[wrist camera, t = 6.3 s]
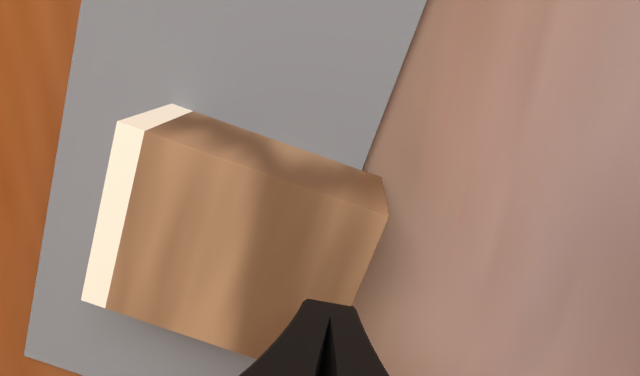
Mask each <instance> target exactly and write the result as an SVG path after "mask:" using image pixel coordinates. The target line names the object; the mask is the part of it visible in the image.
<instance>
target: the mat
mask: <svg viewBox="0 0 640 376" xmlns="http://www.w3.org/2000/svg"><path fill="white" fill-rule="evenodd" d="M426 1H427V0H82V2H81V8H80V14H79V20H78V26H77V32H76V39H75V45H74V51H73V57H72V63H71V69H70V75H69V81H68V88H67V94H66V100H65V106H64V112H63V118H62V124H61V131H60V137H59V143H58V149H57V155H56V161H55V167H54V174H53V180H52V186H51V192H50V198H49V204H48V210H47V217H46V223H45V229H44V235H43V241H42V247H41V253H40V260H39V266H38V272H37V278H36V284H35V290H34V296H33V303H32V309H31V315H30V321H29V327H28V333H27V339H26V345H25V352H24V356H26V357H29V358H32V359H35V360H38V361H41V362H44V363H47V364H50V365H53V366H56V367H59V368H62V369H65V370H68V371H71V372H74V373H77V374H80V375H83V376H239V375H240V374H241V373H242V372H244V371H245V370H246V369H247V368H248V367H249V366H251V365H252V364H253V363H254V362H255V361H256V360H257V359H254V358H251V357H248V356H245V355H242V354H239V353H236V352H234V351H231V350H228V349H225V348H222V347H219V346H216V345H213V344H210V343H207V342H204V341H201V340H198V339H195V338H192V337H189V336H186V335H183V334H180V333H177V332H174V331H171V330H168V329H165V328H162V327H159V326H156V325H153V324H150V323H147V322H144V321H141V320H138V319H135V318H132V317H129V316H126V315H124V314H121V313H118V312H115V311H112V310H109V309H106V308H103V307H100V306H97V305H94V304H91V303H88V302H85V301H82V300H81V297H82V292H83V287H84V282H85V277H86V272H87V267H88V262H89V257H90V252H91V247H92V242H93V237H94V232H95V228H96V223H97V218H98V213H99V208H100V203H101V198H102V193H103V188H104V183H105V178H106V173H107V168H108V163H109V158H110V153H111V148H112V143H113V139H114V134H115V129H116V124H117V121H119V120H122V119H125V118H129V117H132V116H135V115H138V114H141V113H144V112H147V111H150V110H153V109H156V108H159V107H163V106H166V105H169V104H175V105H177V106H180V107H183V108H186V109H189V110H192V111H194V112H197V113H200V114H203V115H206V116H209V117H211V118H214V119H217V120H220V121H223V122H226V123H229V124H231V125H234V126H237V127H240V128H243V129H246V130H248V131H251V132H254V133H257V134H260V135H263V136H265V137H268V138H271V139H274V140H277V141H280V142H283V143H285V144H288V145H291V146H294V147H297V148H300V149H302V150H305V151H308V152H311V153H314V154H317V155H320V156H322V157H325V158H328V159H331V160H334V161H337V162H339V163H342V164H345V165H348V166H351V167H354V168H356V169H359V170H362V168H363V165H364V163H365V160H366V157H367V155H368V152H369V150H370V147H371V144H372V142H373V139H374V137H375V134H376V131H377V129H378V126H379V124H380V121H381V118H382V116H383V113H384V111H385V108H386V105H387V103H388V100H389V98H390V95H391V92H392V90H393V87H394V85H395V82H396V79H397V77H398V74H399V72H400V69H401V66H402V64H403V61H404V59H405V56H406V53H407V51H408V48H409V46H410V43H411V40H412V38H413V35H414V33H415V30H416V27H417V25H418V22H419V20H420V17H421V14H422V12H423V9H424V7H425V4H426Z"/></svg>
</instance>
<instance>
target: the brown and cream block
mask: <svg viewBox="0 0 640 376" xmlns="http://www.w3.org/2000/svg"><path fill="white" fill-rule="evenodd" d="M388 218H389V213H388V208H387V203H386V198H385V192H384V187H383V182H382V177H379V176H376V175H374V174H371V173H368V172H365V171H362V170H359V169H356V168H354V167H351V166H348V165H345V164H342V163H339V162H337V161H334V160H331V159H328V158H325V157H322V156H320V155H317V154H314V153H311V152H308V151H305V150H302V149H300V148H297V147H294V146H291V145H288V144H285V143H283V142H280V141H277V140H274V139H271V138H268V137H265V136H263V135H260V134H257V133H254V132H251V131H248V130H246V129H243V128H240V127H237V126H234V125H231V124H229V123H226V122H223V121H220V120H217V119H214V118H211V117H209V116H206V115H203V114H200V113H197V112H194V111H192V110H189V109H186V108H183V107H180V106H177V105H175V104H169V105H166V106H163V107H159V108H156V109H153V110H150V111H147V112H144V113H141V114H138V115H135V116H132V117H129V118H125V119H122V120H119V121H117V124H116V129H115V134H114V139H113V143H112V148H111V153H110V158H109V163H108V168H107V173H106V178H105V183H104V188H103V193H102V198H101V203H100V208H99V213H98V218H97V223H96V228H95V232H94V237H93V242H92V247H91V252H90V257H89V262H88V267H87V272H86V277H85V282H84V287H83V292H82V297H81V300H82V301H85V302H88V303H91V304H94V305H97V306H100V307H103V308H106V309H109V310H112V311H115V312H118V313H121V314H124V315H126V316H129V317H132V318H135V319H138V320H141V321H144V322H147V323H150V324H153V325H156V326H159V327H162V328H165V329H168V330H171V331H174V332H177V333H180V334H183V335H186V336H189V337H192V338H195V339H198V340H201V341H204V342H207V343H210V344H213V345H216V346H219V347H222V348H225V349H228V350H231V351H234V352H236V353H239V354H242V355H245V356H248V357H251V358H254V359H258V358H259V357H260V356H261V355H262V354H263V353H264V352H265V351H266V350H267V349H268V348H269V347H270V346H271V345H272V344H273V343H274V342H275V340H276V339H277V338H278V337H279V336H280V335H281V333H282V332H283V331H284V330H285V328H286V327H287V326H288V325H289V323H290V322H291V321H292V319H293V318H294V316H295V315H296V313H297V312H298V310H299V308H300V306H301V304H302V302H303V301H304V300H306V299H313V300H318V301H324V302H330V303H336V304H341V305H347V306H352V304H353V301H354V299H355V297H356V294H357V292H358V289H359V287H360V285H361V282H362V280H363V277H364V275H365V273H366V270H367V268H368V266H369V263H370V261H371V258H372V256H373V254H374V251H375V249H376V246H377V244H378V242H379V239H380V237H381V235H382V232H383V230H384V227H385V225H386V223H387V220H388Z"/></svg>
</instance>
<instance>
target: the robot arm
mask: <svg viewBox="0 0 640 376" xmlns="http://www.w3.org/2000/svg"><path fill="white" fill-rule="evenodd" d="M239 376H389V375H388V373H387V371H386V370H385V368H384V366H383V365H382V363H381V361H380V359H379V358H378V356H377V354H376V352H375V350H374V348H373V347H372V345H371V343H370V341H369V339H368V337H367V334H366V332H365V330H364V328H363V326H362V323H361V321H360V318H359V316H358V313H357V311H356V309H355V308H354V307H353V306H347V305H341V304H336V303H330V302H324V301H318V300H313V299H306V300H304V301H303V302H302V304H301V306H300V308H299V310H298V312H297V313H296V315H295V316H294V318H293V319H292V321H291V322H290V323H289V325H288V326H287V327H286V328H285V330H284V331H283V332H282V333H281V335H280V336H279V337H278V338H277V339H276V340H275V342H274V343H273V344H272V345H271V346H270V347H269V348H268V349H267V350H266V351H265V352H264V353H263V354H262V355H261V356H260V357H259V358H258V359H257V360H256V361H255V362H254V363H253V364H252V365H251V366H249V367H248V368H247V369H246V370H245V371H244V372H242V373H241V374H240V375H239Z"/></svg>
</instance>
